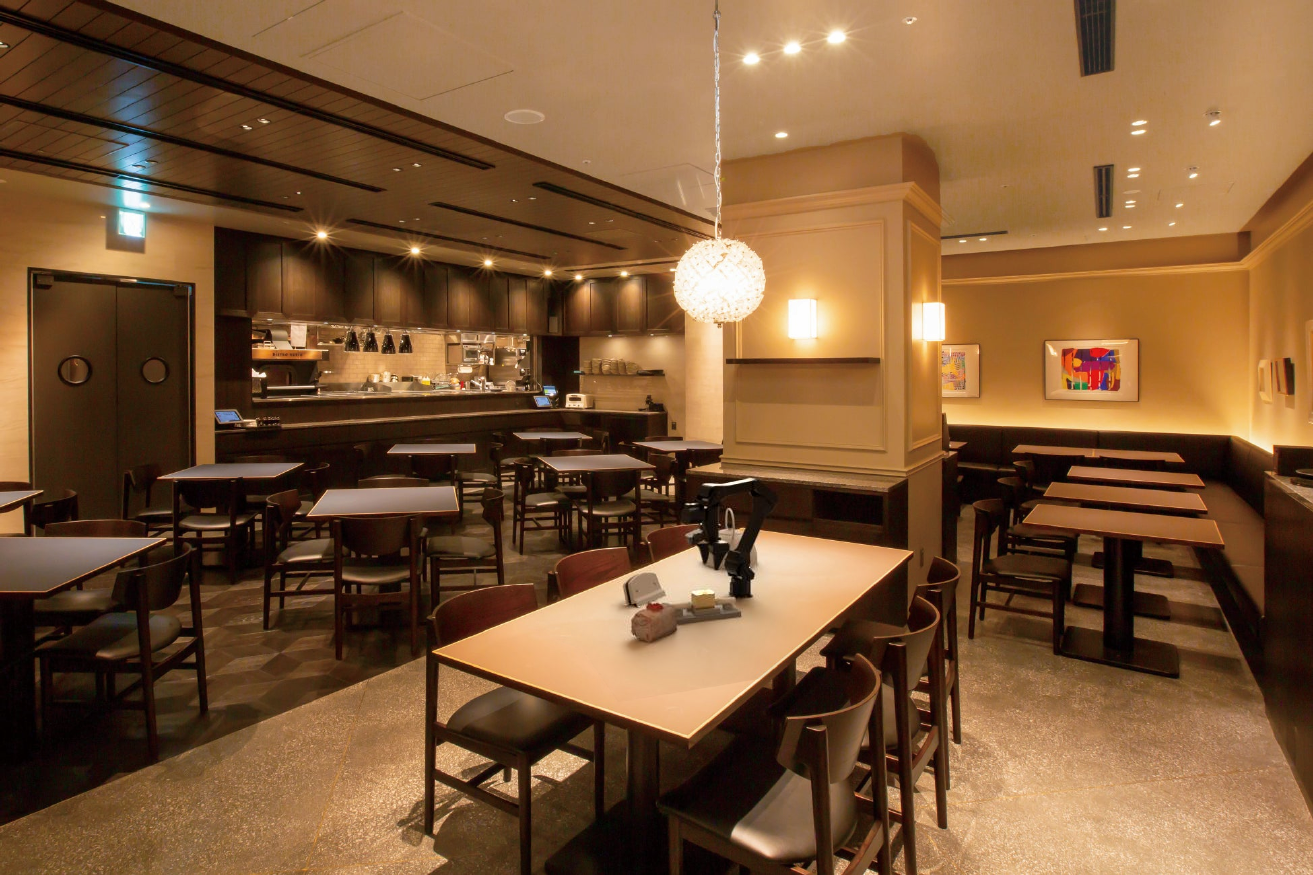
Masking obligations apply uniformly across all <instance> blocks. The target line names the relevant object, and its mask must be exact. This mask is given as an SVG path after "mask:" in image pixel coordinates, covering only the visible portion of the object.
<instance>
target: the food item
mask: <svg viewBox="0 0 1313 875" xmlns="http://www.w3.org/2000/svg"><path fill="white" fill-rule="evenodd" d="M630 621H631V622H630V624H631V626H630V628H631V631H630V632H631V634H632V636H635V637H636V638H638V639H640V640H641V639H642V641H644V642H646V643H650V644H651V643H652V642H655V641H656V640H657V639H660V638H662V637H665V636H667V635H670V634H672V633H674V632H677V631H678V627H677V619H676V608H675V607H674V606H672V605H671V604H670V603H668V602H661V603H660V602H654V603H652V602H649V601H648V603H647V604H646V606H645V608H643V609H641V610H639V611H637V612H636V613H634V616H633V617H632V618H631V619H630Z"/></svg>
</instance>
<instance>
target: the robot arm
mask: <svg viewBox="0 0 1313 875" xmlns="http://www.w3.org/2000/svg"><path fill="white" fill-rule="evenodd" d="M741 493H749V495H750V496H751V497H752V502H751V505H752V512H751V515H750V516H749V519H748V522H747V524H746V526H745V528H744V530H743V531H742V532H743V535H742V537H741V539H740V542H739V544H738V546H737V548H736V549H735V550H733V551H732V550H730V544H729V543H727V542H725V541H718V540H721V537H720V536H719V531H720V529H722V525H721V524H720V508H722V509H723V508H725V504H723V503H722V502H721V501H724V500H725V498H727V497H729V496H733V495H739V494H741ZM778 502H779V496H778V494H777V492H776V491H773V490H772V489H771V488H769V487H768V486H767V485H765V484H764V483H762V482H761V481H760V480H759V479H757V478H751V477H747V478H745V479H742V480H736V481H731V482H727V483H702V484H701V485H700V488H699V490H698V493H697V494H696V496H695V497H694V498H693V500H692V503H684V507H683V508H682V510H681V513H680V518H681V519H680V520H681V521H682V523H683V524H684V525H685V526H687V525H695V524H699V525H698V528H697V529H694V530H692V531H689V532H687V533H686V534H685V535H684V536H685V539H686V542H687V544H688V545H690V546H691V547H692V546H696V547H697V548H698V550H699V553H700V557H701V560H702V564H703V565H704V564H706V563H707V560H708V557H709V553H711V554H712V556H713V564H714V568H713V569H714V571H718V570H720V569H719V567H720V565H721V563H722V561H723V559H724V557H725V555H726V553H728V554H727V557H726V558H725V559H724V560H725V563H724V566H725V569H724V570H725V571H726V572H727V576H728V577H730V582H729V591H728V594H729V595H731V597H735V599H742V598H751V597H752V598H753V596H754V595H753V594H752V592H751V590H752V589H751V588H752V587H751V586H752V585H751V584H752V582H751V581H753V580H754V579H755V576H756V572H754V571H753V570H752V569H751V568H749V566H750V563H751V559H750V552H751V550H752V548H753V545H755V543H756V541H757V539H758V538H757V537H758V536H759V533H760V531H761V528H762V527H763V524H764V522H765V520H766V517H767V516H769V515H770V514H771V513H772V512H773V511H774V510H775V508H776V506H777V504H778Z"/></svg>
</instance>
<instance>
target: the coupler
mask: <svg viewBox="0 0 1313 875" xmlns="http://www.w3.org/2000/svg"><path fill="white" fill-rule="evenodd" d="M690 592H691V594H690V596H691V599H690V603H691V610H692V611H693V612H694V610H701V609H709V608H715V599H716V597H715V596H716V593H715V592H714V591H712V590H711V589H705V590H704V589H703V590H695V591H694V590H693V591H690Z"/></svg>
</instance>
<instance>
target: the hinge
mask: <svg viewBox="0 0 1313 875" xmlns="http://www.w3.org/2000/svg"><path fill="white" fill-rule="evenodd" d="M622 588H623V589H622V590H623V594H624V599H625V605H626V604H627V605H626V606H629V605H634V604H636V607H637V606H640V607H643V606H644V604H645V605H647V604H648V601H649V602H650V603H652V602H654V601H656V600H658V598H659V599H661V598H663V596H664V597H665V596H666V592H665V590H664V589H663V588H662V587H661V584H660V581H659V578H658V576H657V574H656V573H655V572H641V573H638V574H634V575H633V576H631V577H630V578H628V579H627V580H625V582H624V583H623V585H622ZM653 600H654V601H653ZM642 605H643V606H642Z"/></svg>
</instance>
